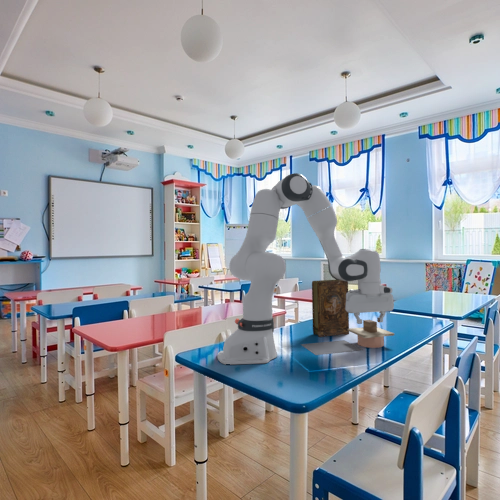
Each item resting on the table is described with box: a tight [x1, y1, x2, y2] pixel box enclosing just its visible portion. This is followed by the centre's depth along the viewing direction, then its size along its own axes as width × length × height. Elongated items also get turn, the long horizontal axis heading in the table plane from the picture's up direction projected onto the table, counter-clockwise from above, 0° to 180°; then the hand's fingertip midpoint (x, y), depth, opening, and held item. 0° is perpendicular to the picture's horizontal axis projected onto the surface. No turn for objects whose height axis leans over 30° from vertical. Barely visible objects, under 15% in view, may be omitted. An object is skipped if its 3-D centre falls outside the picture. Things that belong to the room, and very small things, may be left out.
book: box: [311, 279, 350, 338], centre depth 159 cm, size 16×6×25 cm, turn 105°
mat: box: [300, 340, 364, 356], centre depth 138 cm, size 20×15×1 cm
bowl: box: [357, 335, 385, 349], centre depth 141 cm, size 10×10×5 cm
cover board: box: [348, 319, 395, 338], centre depth 141 cm, size 13×13×5 cm
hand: (369, 322), depth 141 cm, fingers open, 8 cm apart
